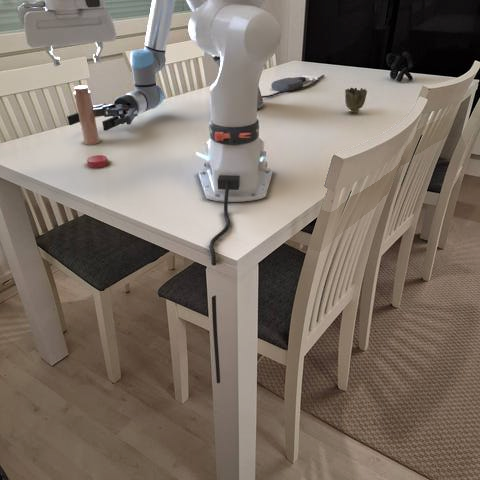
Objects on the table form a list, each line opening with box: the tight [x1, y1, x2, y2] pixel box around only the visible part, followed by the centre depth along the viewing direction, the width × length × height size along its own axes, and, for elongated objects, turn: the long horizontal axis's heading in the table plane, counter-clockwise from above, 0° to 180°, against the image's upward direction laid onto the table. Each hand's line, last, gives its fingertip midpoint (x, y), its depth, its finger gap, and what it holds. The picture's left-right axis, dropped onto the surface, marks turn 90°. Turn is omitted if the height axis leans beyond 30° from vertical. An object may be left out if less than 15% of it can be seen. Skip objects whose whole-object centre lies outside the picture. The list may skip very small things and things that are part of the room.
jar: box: [73, 85, 100, 146], centre depth 133 cm, size 5×5×16 cm
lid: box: [86, 154, 109, 169], centre depth 122 cm, size 5×5×2 cm
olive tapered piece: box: [344, 87, 368, 115], centre depth 156 cm, size 8×7×8 cm
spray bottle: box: [270, 75, 319, 92], centre depth 194 cm, size 3×11×24 cm
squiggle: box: [385, 51, 414, 83], centre depth 198 cm, size 11×10×15 cm
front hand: (78, 64), depth 109 cm, fingers open, 8 cm apart
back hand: (86, 123), depth 133 cm, fingers open, 13 cm apart
